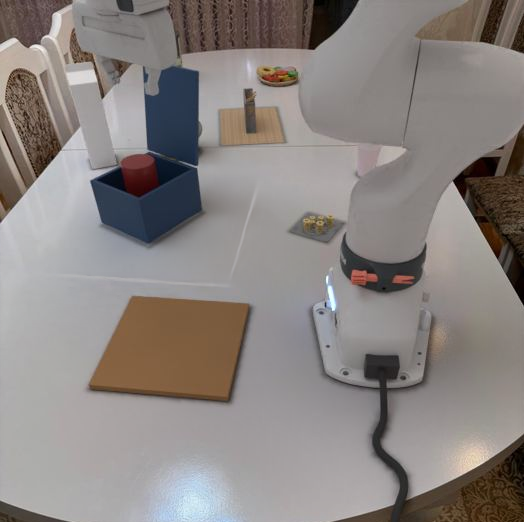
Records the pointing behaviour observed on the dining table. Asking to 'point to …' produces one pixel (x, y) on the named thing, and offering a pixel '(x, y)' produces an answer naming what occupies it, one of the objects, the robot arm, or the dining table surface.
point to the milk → (91, 114)
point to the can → (139, 174)
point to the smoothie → (367, 158)
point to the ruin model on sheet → (250, 123)
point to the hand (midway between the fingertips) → (132, 88)
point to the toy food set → (277, 75)
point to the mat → (173, 348)
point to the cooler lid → (174, 115)
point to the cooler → (149, 200)
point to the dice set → (317, 227)
